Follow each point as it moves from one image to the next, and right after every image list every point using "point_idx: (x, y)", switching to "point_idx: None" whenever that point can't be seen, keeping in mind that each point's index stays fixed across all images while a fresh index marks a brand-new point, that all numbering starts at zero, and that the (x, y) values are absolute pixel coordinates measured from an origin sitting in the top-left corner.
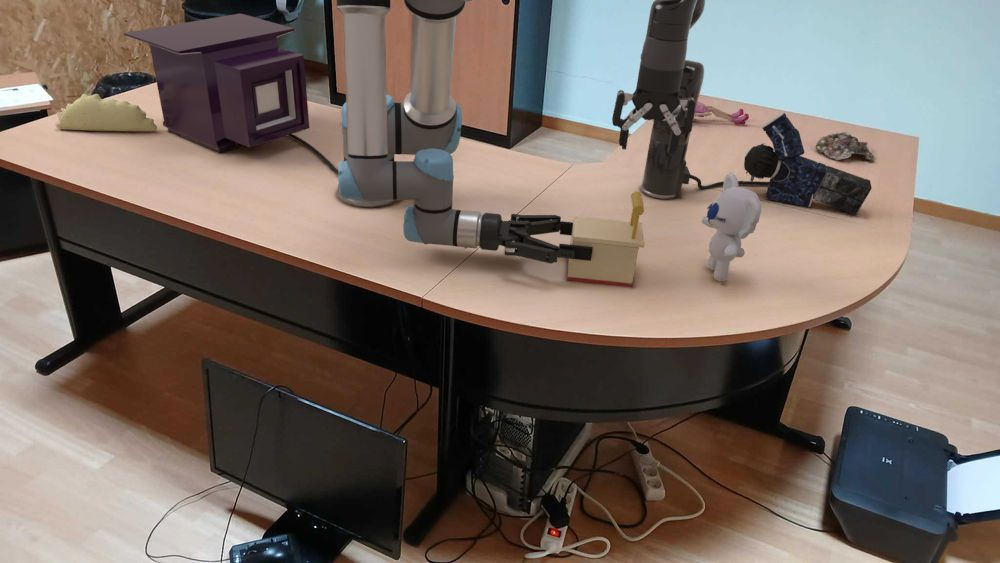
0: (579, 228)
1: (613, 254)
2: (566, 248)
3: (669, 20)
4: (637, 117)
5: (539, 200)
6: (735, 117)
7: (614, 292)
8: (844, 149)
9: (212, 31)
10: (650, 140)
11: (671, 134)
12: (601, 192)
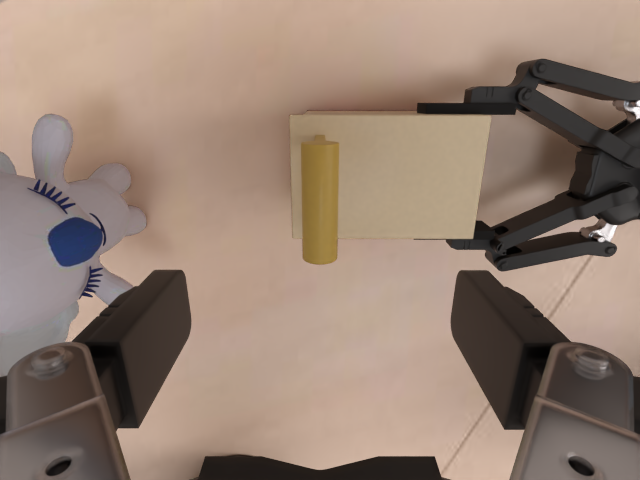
0: (467, 167)
1: (365, 113)
2: (493, 103)
3: None
4: (569, 452)
5: (473, 410)
6: None
7: (346, 78)
8: None
9: None
10: None
11: (133, 379)
12: (351, 458)
